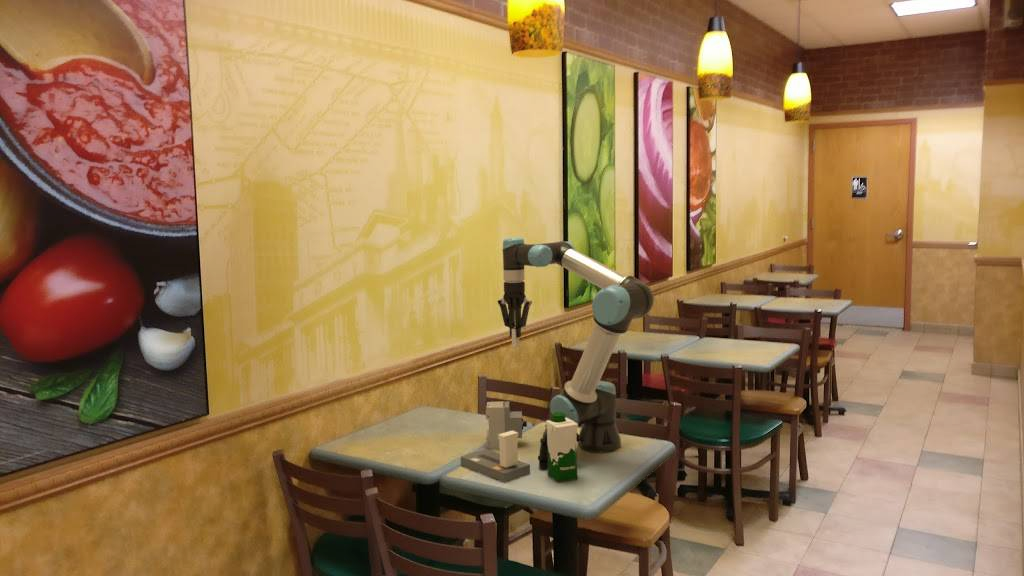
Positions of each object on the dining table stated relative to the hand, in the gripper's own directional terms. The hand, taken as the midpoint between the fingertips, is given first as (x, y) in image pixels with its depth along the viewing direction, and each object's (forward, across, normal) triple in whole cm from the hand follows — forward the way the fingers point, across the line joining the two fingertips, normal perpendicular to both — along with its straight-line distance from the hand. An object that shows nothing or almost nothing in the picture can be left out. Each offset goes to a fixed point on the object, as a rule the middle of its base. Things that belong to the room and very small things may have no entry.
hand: (515, 346), depth 288 cm
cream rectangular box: (+31, -15, +33) cm, 48 cm away
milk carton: (+35, -31, +28) cm, 54 cm away
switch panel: (+34, -8, +31) cm, 47 cm away
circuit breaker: (+35, 0, +8) cm, 36 cm away
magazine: (+35, -26, +20) cm, 48 cm away
